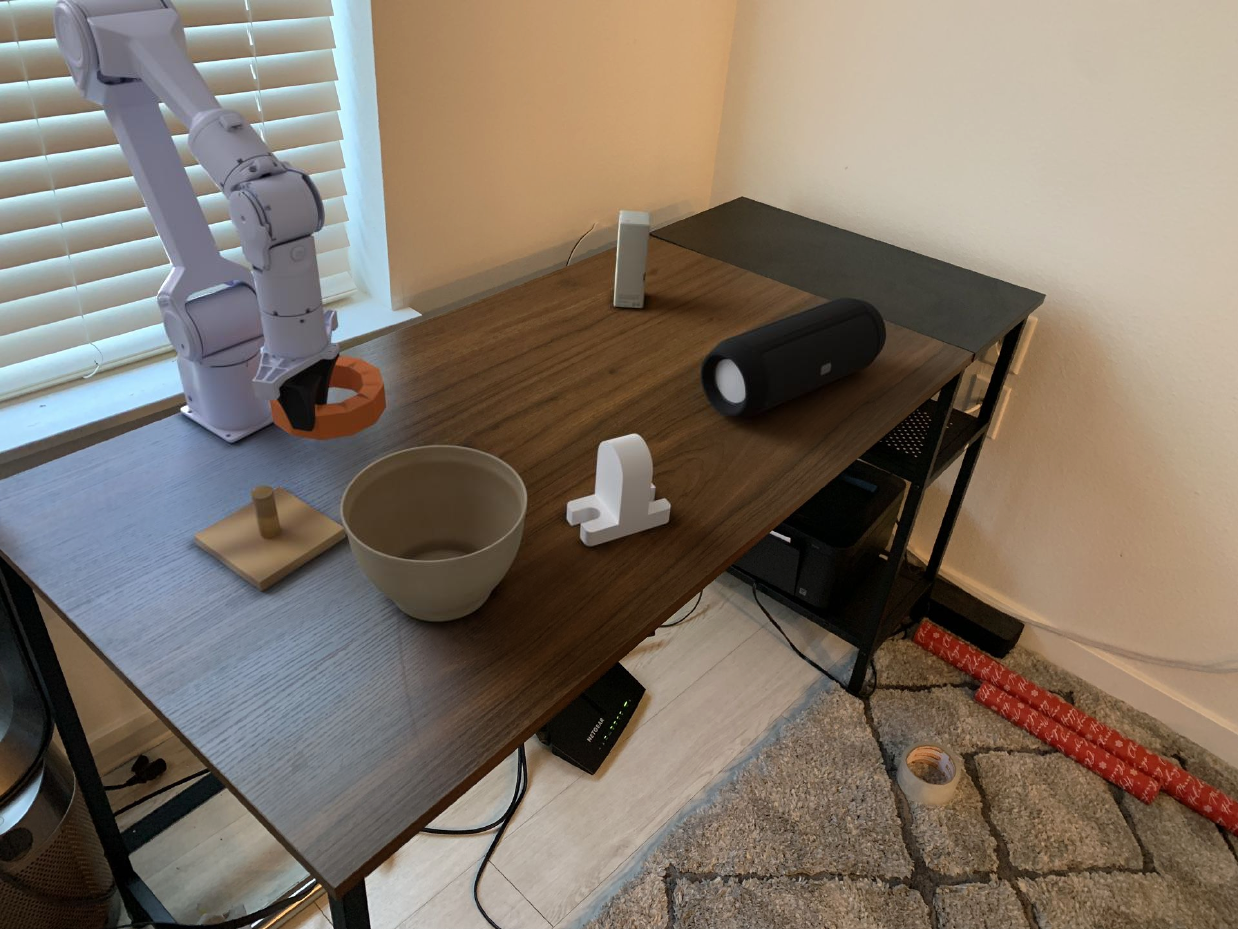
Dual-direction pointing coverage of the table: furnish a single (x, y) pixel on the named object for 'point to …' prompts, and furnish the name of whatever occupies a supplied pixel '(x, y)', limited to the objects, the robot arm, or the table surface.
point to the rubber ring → (343, 403)
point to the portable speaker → (791, 356)
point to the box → (631, 258)
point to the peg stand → (269, 536)
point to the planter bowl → (435, 527)
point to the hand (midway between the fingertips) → (308, 421)
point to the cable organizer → (619, 494)
